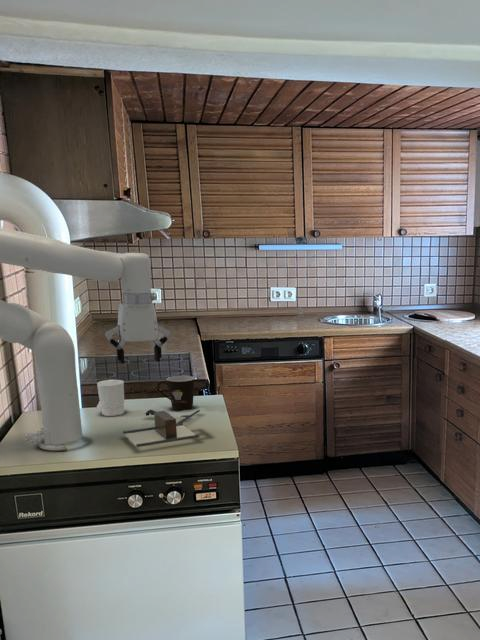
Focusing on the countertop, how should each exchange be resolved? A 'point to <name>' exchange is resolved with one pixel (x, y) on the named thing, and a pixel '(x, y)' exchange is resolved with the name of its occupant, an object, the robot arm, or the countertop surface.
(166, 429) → the eraser
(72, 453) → the countertop surface
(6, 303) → the robot arm
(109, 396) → the white cup
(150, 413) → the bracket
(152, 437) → the memo board
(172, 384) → the coffee mug
